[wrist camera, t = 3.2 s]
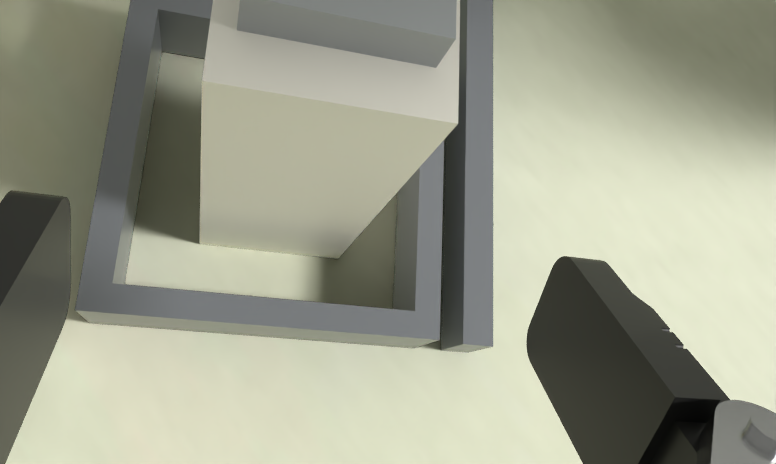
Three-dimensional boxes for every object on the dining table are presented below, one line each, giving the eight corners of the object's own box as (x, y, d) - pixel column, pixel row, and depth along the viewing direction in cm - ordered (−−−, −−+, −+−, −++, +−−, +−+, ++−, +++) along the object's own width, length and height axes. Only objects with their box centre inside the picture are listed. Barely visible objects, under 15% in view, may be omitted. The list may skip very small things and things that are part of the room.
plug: (216, 115, 22) (235, -184, 11) (346, 135, 23) (481, -119, 12) (199, 243, 21) (202, 48, 10) (337, 259, 22) (480, 99, 11)
